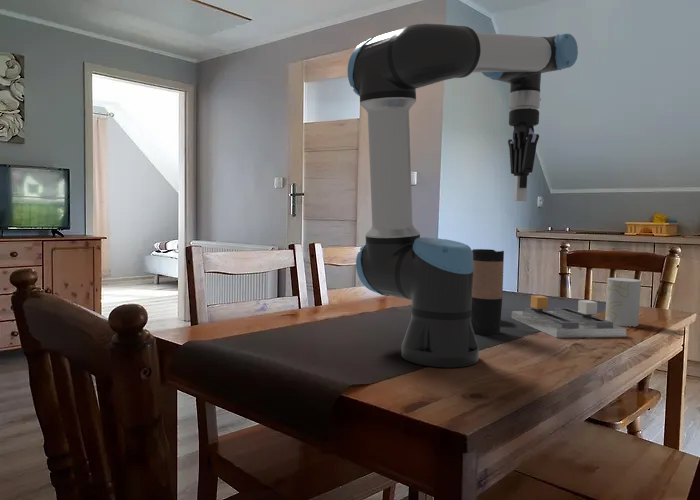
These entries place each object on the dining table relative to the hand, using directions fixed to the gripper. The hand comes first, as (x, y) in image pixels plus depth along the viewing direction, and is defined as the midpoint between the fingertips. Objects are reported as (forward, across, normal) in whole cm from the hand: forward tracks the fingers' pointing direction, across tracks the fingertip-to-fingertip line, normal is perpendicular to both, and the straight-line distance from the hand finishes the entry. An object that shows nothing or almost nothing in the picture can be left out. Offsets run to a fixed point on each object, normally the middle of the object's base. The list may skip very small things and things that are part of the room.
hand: (520, 200), depth 147 cm
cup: (+33, -2, -30) cm, 44 cm away
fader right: (+30, -9, -16) cm, 35 cm away
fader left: (+30, 0, -7) cm, 31 cm away
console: (+32, -6, -11) cm, 35 cm away
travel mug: (+33, -11, +13) cm, 37 cm away
